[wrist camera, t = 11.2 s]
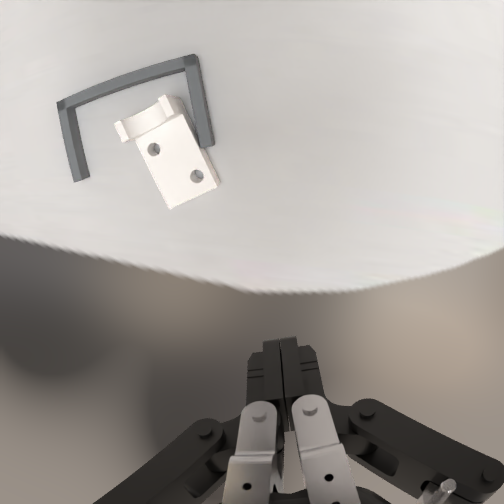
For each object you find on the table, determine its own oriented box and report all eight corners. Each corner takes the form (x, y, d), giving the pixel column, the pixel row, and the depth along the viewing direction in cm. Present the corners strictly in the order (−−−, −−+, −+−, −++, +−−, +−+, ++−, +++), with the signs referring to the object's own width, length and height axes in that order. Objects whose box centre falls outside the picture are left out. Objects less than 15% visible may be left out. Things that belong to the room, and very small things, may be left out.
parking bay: (65, 102, 38) (56, 102, 35) (197, 57, 36) (194, 53, 34) (82, 179, 43) (74, 182, 40) (214, 144, 41) (212, 146, 39)
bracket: (136, 122, 40) (113, 124, 33) (180, 97, 38) (165, 94, 32) (175, 202, 44) (160, 218, 37) (220, 181, 43) (213, 194, 36)
